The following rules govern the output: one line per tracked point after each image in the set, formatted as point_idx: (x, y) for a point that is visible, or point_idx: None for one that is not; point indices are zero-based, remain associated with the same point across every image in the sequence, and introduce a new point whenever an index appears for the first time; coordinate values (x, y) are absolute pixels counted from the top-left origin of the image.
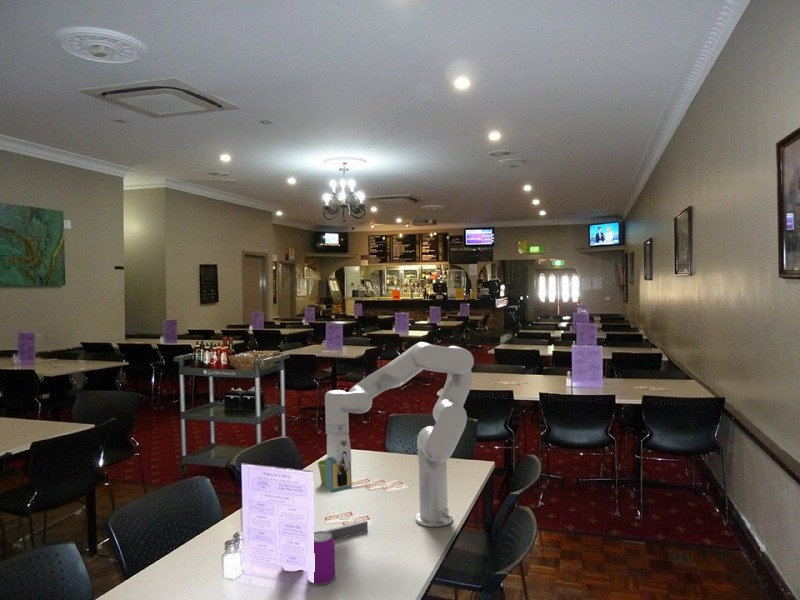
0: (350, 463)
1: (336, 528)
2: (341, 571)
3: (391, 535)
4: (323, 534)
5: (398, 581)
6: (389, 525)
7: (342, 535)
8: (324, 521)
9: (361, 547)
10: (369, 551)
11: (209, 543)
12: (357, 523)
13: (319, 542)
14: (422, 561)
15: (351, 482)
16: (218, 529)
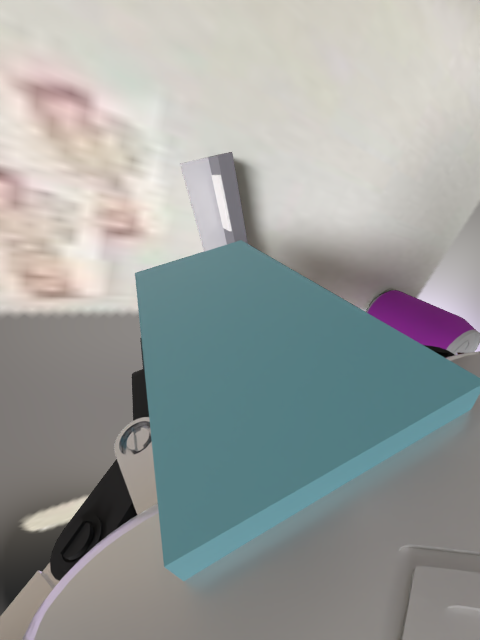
0: (391, 334)
1: None
2: (379, 275)
3: (288, 65)
4: (454, 346)
5: (469, 170)
6: (192, 13)
7: None
8: (90, 300)
9: (316, 211)
10: (344, 194)
11: None
12: (234, 200)
13: (469, 351)
14: (463, 53)
15: (259, 251)
16: None
